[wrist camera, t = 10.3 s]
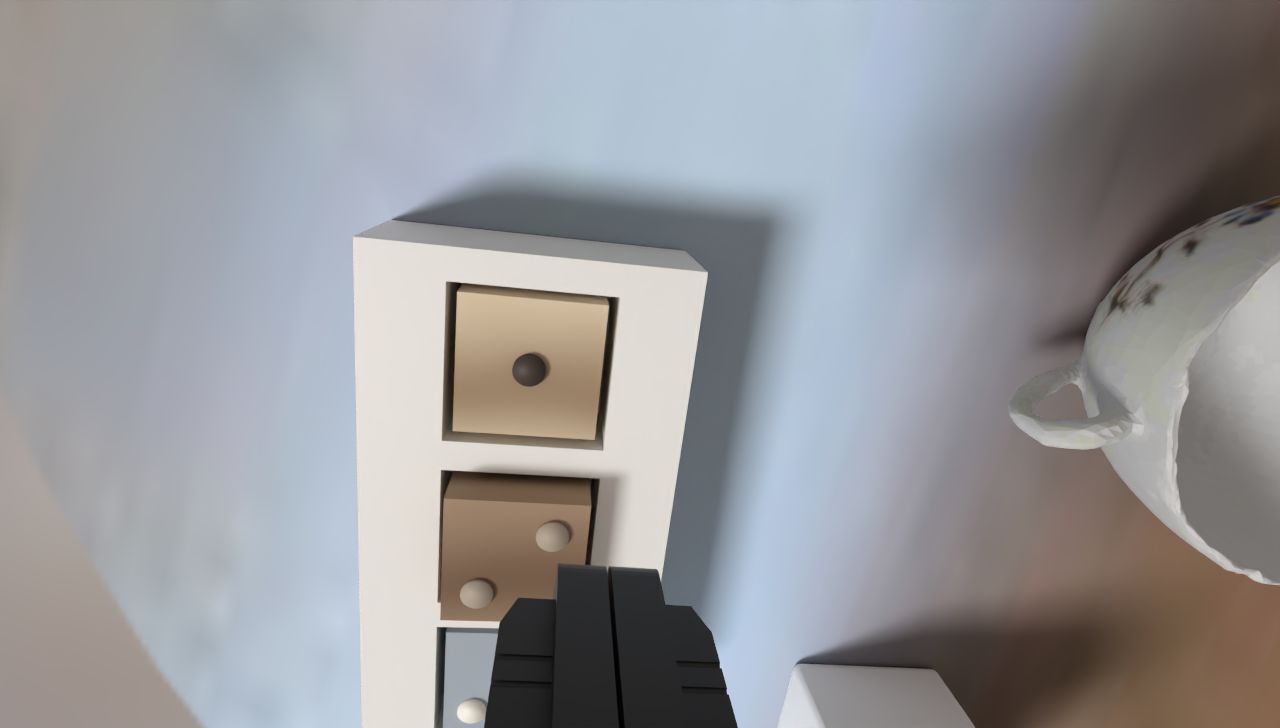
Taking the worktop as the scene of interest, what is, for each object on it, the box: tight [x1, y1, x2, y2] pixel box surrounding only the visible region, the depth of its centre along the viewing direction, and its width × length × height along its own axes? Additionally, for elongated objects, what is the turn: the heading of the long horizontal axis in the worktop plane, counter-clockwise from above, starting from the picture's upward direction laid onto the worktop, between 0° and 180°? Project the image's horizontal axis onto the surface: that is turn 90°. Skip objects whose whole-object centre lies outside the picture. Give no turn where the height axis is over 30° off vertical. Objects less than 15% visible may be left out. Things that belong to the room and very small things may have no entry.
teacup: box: [1008, 196, 1280, 585], centre depth 22 cm, size 15×12×8 cm
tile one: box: [453, 283, 609, 440], centre depth 21 cm, size 4×4×3 cm
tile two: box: [440, 471, 591, 622], centre depth 21 cm, size 4×4×3 cm
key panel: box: [353, 220, 708, 728], centre depth 23 cm, size 19×10×4 cm, turn 173°
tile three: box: [443, 627, 499, 728], centre depth 25 cm, size 4×4×3 cm
